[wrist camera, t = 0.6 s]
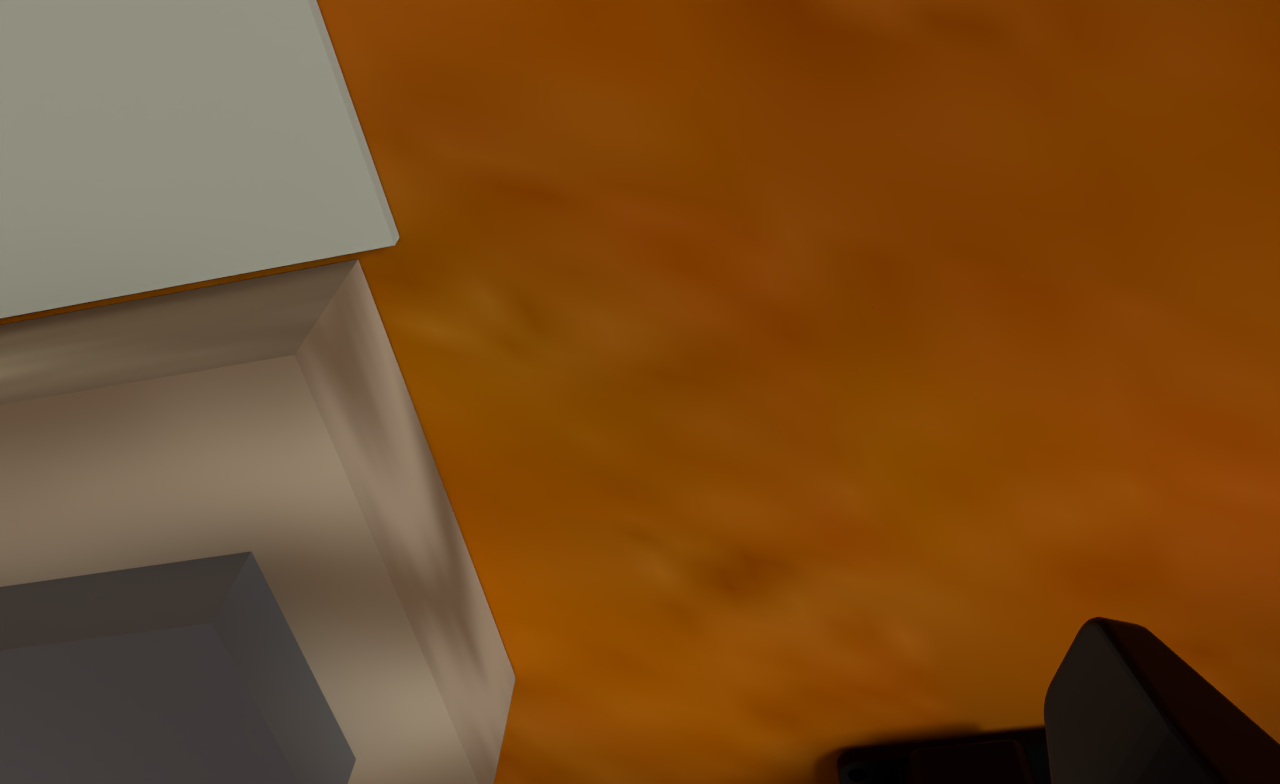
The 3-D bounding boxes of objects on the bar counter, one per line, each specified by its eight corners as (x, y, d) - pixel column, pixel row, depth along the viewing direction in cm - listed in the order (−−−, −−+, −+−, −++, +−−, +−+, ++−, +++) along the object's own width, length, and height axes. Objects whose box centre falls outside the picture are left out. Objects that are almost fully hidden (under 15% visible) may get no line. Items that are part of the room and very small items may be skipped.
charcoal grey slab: (356, 759, 24) (329, 837, 23) (-3, 798, 26) (-54, 874, 24) (251, 551, 21) (211, 622, 20) (-148, 608, 23) (-217, 679, 21)
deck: (515, 677, 28) (488, 807, 25) (34, 733, 31) (-51, 861, 27) (358, 259, 22) (294, 354, 19) (-226, 366, 25) (-376, 469, 21)
